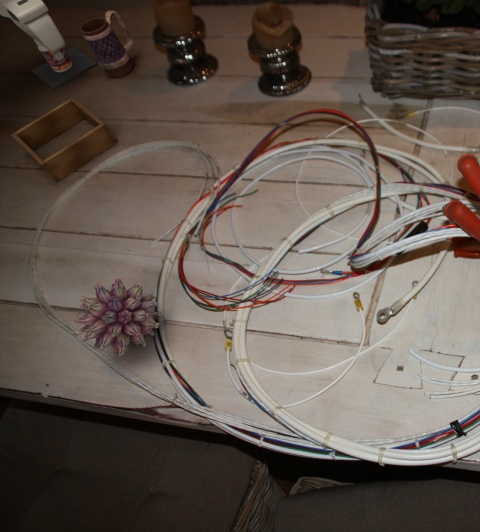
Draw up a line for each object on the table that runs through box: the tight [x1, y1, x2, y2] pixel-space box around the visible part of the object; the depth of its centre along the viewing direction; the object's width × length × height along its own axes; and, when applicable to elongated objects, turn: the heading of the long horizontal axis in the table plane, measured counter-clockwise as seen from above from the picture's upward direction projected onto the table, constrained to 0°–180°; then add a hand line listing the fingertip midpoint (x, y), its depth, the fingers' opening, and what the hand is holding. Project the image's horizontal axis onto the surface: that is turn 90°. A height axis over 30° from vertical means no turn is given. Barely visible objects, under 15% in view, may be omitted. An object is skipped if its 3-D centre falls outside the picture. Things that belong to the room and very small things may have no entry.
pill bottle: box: [33, 39, 73, 72], centre depth 130 cm, size 5×5×8 cm
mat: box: [31, 46, 98, 91], centre depth 134 cm, size 12×12×1 cm
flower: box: [73, 277, 161, 357], centre depth 83 cm, size 12×12×12 cm
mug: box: [80, 10, 135, 79], centre depth 127 cm, size 10×7×12 cm
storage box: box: [10, 97, 119, 183], centre depth 115 cm, size 15×15×5 cm
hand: (54, 54), depth 131 cm, fingers closed on pill bottle, 5 cm apart
